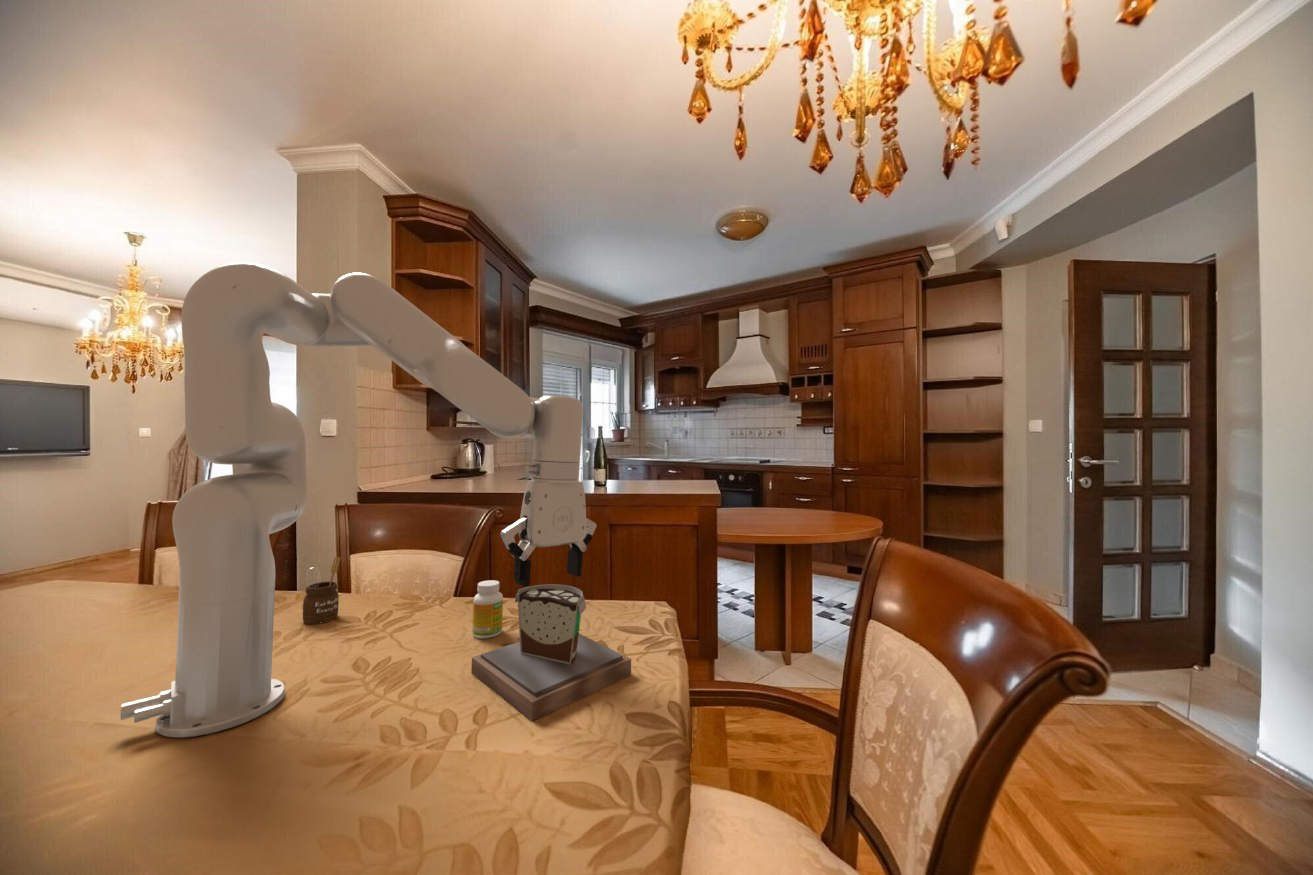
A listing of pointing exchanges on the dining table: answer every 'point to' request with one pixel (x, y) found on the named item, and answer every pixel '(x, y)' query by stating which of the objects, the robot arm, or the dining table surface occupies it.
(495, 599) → the supplement bottle
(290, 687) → the dining table surface
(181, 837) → the dining table surface
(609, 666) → the podium
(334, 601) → the utensil holder
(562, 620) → the food container
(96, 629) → the dining table surface
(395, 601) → the dining table surface
